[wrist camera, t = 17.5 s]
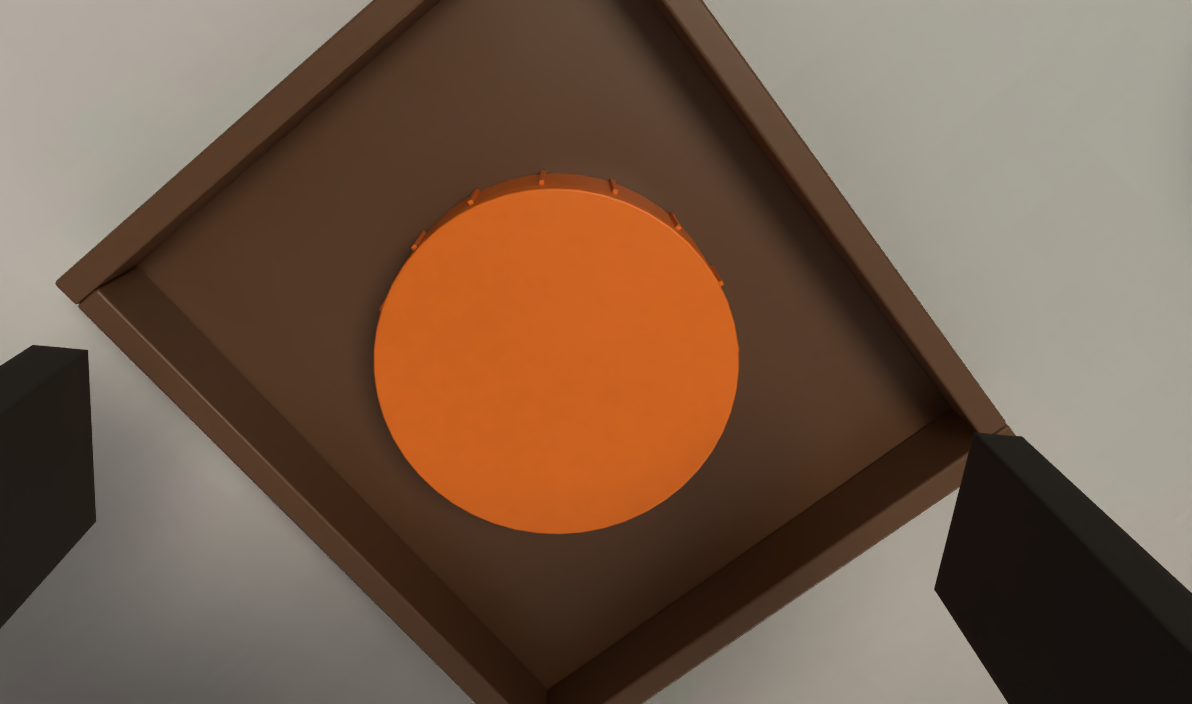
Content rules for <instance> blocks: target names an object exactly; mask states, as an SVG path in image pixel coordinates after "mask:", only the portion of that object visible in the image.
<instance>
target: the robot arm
mask: <svg viewBox="0 0 1192 704" xmlns="http://www.w3.org/2000/svg"><path fill="white" fill-rule="evenodd" d="M95 522H96V509H95V489H94V468H93V447H92V426H91V405H90V384H89V364H88V350H81V349H70V348H60V347H49V346H38V345H32V346H30V347H29V348H27V349H26V350H24V351H23V352H21V353H19V354H18V355H16V356H15V357H13V358H12V359H10V360H9V361H7V362H6V363H4V364H2V365H1V366H0V628H1V627H2V626H3V625H4V624H5V623H6V622H7V620H8V619H9V618H10V617H11V616H12V615H13V614H14V613H15V611H16V610H17V609H18V608H19V607H20V606H21V605H22V604H23V603H24V601H25V600H26V599H27V598H28V597H29V596H30V595H31V594H32V592H33V591H34V590H35V589H36V588H37V587H38V586H39V585H40V583H41V582H42V581H43V580H44V579H45V578H46V577H47V576H48V575H49V573H50V572H51V571H52V570H53V569H54V568H55V567H56V566H57V564H58V563H59V562H60V561H61V560H62V559H63V558H64V557H65V556H66V554H67V553H68V552H69V551H70V550H71V549H72V548H73V547H74V545H75V544H76V543H77V542H78V541H79V540H80V539H81V538H82V537H83V535H84V534H85V533H86V532H87V531H88V530H89V529H90V528H91V526H92V525H93V524H94V523H95ZM934 590H935V591H936V593H937V594H938V596H939V597H940V599H941V600H942V602H943V603H944V605H945V607H946V608H947V610H948V611H949V613H950V614H951V616H952V617H953V619H954V620H955V622H956V624H957V625H958V627H959V628H960V630H961V631H962V633H963V634H964V636H965V637H966V639H967V641H968V642H969V644H970V645H971V647H972V648H973V650H974V651H975V653H976V654H977V656H978V657H979V659H980V661H981V662H982V664H983V665H984V667H985V668H986V670H987V671H988V673H989V674H990V676H991V678H992V679H993V681H994V682H995V684H996V685H997V687H998V688H999V690H1000V691H1001V693H1002V694H1003V696H1004V698H1005V699H1006V701H1007V702H1008V704H1192V593H1191V592H1190V591H1189V590H1188V589H1187V588H1185V587H1184V586H1183V585H1182V584H1181V583H1180V582H1179V581H1178V580H1177V579H1176V578H1175V577H1174V576H1172V575H1171V574H1170V573H1169V572H1168V571H1167V570H1166V569H1165V568H1164V567H1163V566H1162V565H1161V564H1159V563H1158V562H1157V561H1156V560H1155V559H1154V558H1153V557H1152V556H1151V555H1150V554H1149V553H1148V552H1147V551H1145V550H1144V549H1143V548H1142V547H1141V546H1140V545H1139V544H1138V543H1137V542H1136V541H1135V540H1134V539H1132V538H1131V537H1130V536H1129V535H1128V534H1127V533H1126V532H1125V531H1124V530H1123V529H1122V528H1121V527H1119V526H1118V525H1117V524H1116V523H1115V522H1114V521H1113V520H1112V519H1111V518H1110V517H1109V516H1108V515H1106V514H1105V513H1104V512H1103V511H1102V510H1101V509H1100V508H1099V507H1098V506H1097V505H1096V504H1095V503H1093V502H1092V501H1091V500H1090V499H1089V498H1088V497H1087V496H1086V495H1085V494H1084V493H1083V492H1082V491H1080V490H1079V489H1078V488H1077V487H1076V486H1075V485H1074V484H1073V483H1072V482H1071V481H1070V480H1069V479H1067V478H1066V477H1065V476H1064V475H1063V474H1062V473H1061V472H1060V471H1059V470H1058V469H1057V468H1056V467H1054V466H1053V465H1052V464H1051V463H1050V462H1049V461H1048V460H1047V459H1046V458H1045V457H1044V456H1043V455H1041V454H1040V453H1039V452H1038V451H1037V450H1036V449H1035V448H1034V447H1033V446H1032V445H1031V444H1030V443H1028V442H1027V441H1026V440H1025V439H1024V438H1023V437H1021V436H1010V435H999V434H988V433H977V432H974V433H973V437H972V441H971V445H970V449H969V453H968V457H967V461H966V465H965V469H964V473H963V477H962V481H961V485H960V489H959V493H958V497H957V501H956V505H955V509H954V513H953V517H952V521H951V525H950V529H949V533H948V537H947V541H946V544H945V548H944V552H943V556H942V560H941V564H940V568H939V572H938V576H937V580H936V584H935V588H934Z"/></svg>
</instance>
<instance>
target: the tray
mask: <svg viewBox="0 0 1192 704" xmlns="http://www.w3.org/2000/svg"><path fill="white" fill-rule="evenodd" d="M541 170H546V174H550V173H561V174H578V175H584V176H589V177H594V178H599V179H603V180H606V181H609V182H610V179H611V178H612V179H615V180H616V184H618V185H621V186H624V187H626V188H628V189H630V190H632V191H634V192H636V193H638V194H640V195H642V196H644V197H645V198H647V199H648V200H650V201H651V202H653V203H654V204H656V205H657V206H659V207H660V208H662V209H663V210H664V211H665V212H667V213H668V214H670V213H671V212H672V213H674V214H675V216H676V218H677V220H678V221H679V223H680V225H681V226H682V228H683V229H684V230H685V231H686V232H687V233H688V234H689V236H690V237H691V238H692V239H693V240H694V242H695V243H696V245H697V246H698V248H699V250H700V251H701V253H702V254H703V256H704V257H705V259H706V260H707V262H708V264H709V266H710V265H713V266H714V268H715V269H716V271H717V273H718V274H719V276H720V278H721V279H722V281H723V283H724V285H723V286H721V288H722V290H723V292H724V294H725V296H726V298H727V301H728V304H729V307H730V310H731V313H732V316H733V319H734V323H735V328H736V334H737V340H738V346H739V373H738V382H737V391H736V395H735V399H734V403H733V407H732V411H731V414H730V416H729V419H728V421H727V424H726V426H725V429H724V431H723V433H722V435H721V437H720V439H719V440H718V442H717V444H716V446H715V448H714V449H713V451H712V453H711V454H710V455H709V457H708V458H707V459H706V461H705V462H704V463H703V465H702V466H701V467H700V469H699V470H698V471H697V472H696V473H695V474H694V475H693V476H692V477H691V478H690V479H689V480H688V481H687V482H686V483H685V484H684V485H683V486H682V487H681V488H680V489H679V490H677V491H676V492H675V493H674V494H672V495H671V496H670V497H669V498H667V499H666V500H665V501H663V502H661V503H660V504H658V505H657V506H655V507H653V508H652V509H650V510H649V511H647V512H645V513H643V514H641V515H638V516H636V517H634V518H632V519H630V520H627V521H625V522H622V523H619V524H616V525H613V526H609V527H606V528H602V529H597V530H592V531H587V532H581V533H567V534H547V533H534V532H527V531H521V530H515V529H512V528H508V527H505V526H501V525H498V524H494V523H491V522H489V521H487V520H484V519H482V518H479V517H477V516H475V515H472V514H471V513H469V512H467V511H465V510H464V509H462V508H460V507H458V506H457V505H455V504H453V503H452V502H450V501H449V500H448V499H446V498H445V497H444V496H442V495H441V494H440V493H438V492H437V491H436V490H434V489H433V488H432V487H431V486H430V485H429V484H428V483H427V482H426V481H425V480H424V479H423V478H422V477H421V476H420V475H419V474H418V473H417V472H416V471H415V469H414V468H413V467H412V466H411V464H410V463H409V462H408V461H407V459H406V458H405V457H404V455H403V454H402V452H401V451H400V449H399V447H398V446H397V444H396V442H395V441H394V439H393V438H392V435H391V433H390V431H389V429H388V426H387V424H386V422H385V419H384V417H383V414H382V411H381V407H380V404H379V400H378V397H377V391H376V385H375V378H374V343H375V336H376V328H377V324H378V320H379V317H380V313H381V311H379V309H380V306H381V305H382V303H383V302H384V300H385V299H386V297H387V294H388V292H389V290H390V287H391V285H392V283H393V281H394V280H395V278H396V277H397V275H398V273H399V272H400V270H401V268H402V267H403V265H404V264H405V262H406V261H407V259H408V258H409V256H410V255H411V253H412V252H413V249H411V247H412V246H413V244H414V243H415V241H416V240H417V238H418V237H419V236H420V234H421V233H422V232H423V231H425V232H428V231H429V230H430V228H431V227H432V226H433V225H434V224H435V223H436V222H437V221H438V220H439V219H441V218H442V217H443V216H444V215H445V214H446V213H447V212H448V211H449V210H451V209H452V208H454V207H455V206H456V205H458V204H459V203H461V202H462V201H464V200H465V199H466V198H468V197H470V196H471V194H472V192H473V191H474V190H475V189H477V188H478V189H479V191H482V190H484V189H486V188H487V187H490V186H493V185H496V184H499V183H501V182H504V181H507V180H510V179H515V178H520V177H524V176H529V175H537V174H540V172H541ZM55 284H56V285H57V287H58V288H59V289H60V290H61V291H62V292H64V293H65V294H66V295H67V296H68V297H69V298H70V299H71V300H72V301H73V302H74V303H75V304H79V303H80V304H79V306H78V307H79V308H80V309H81V310H82V311H83V312H84V313H85V314H86V315H87V316H88V317H89V318H90V319H91V320H92V321H93V322H94V323H95V324H96V325H97V326H98V327H99V328H100V329H101V330H102V331H103V332H104V333H105V334H106V335H107V336H108V337H109V338H110V339H111V340H112V341H113V342H114V343H115V344H116V345H117V346H118V347H119V348H120V349H121V350H122V351H123V352H124V353H125V354H126V355H127V356H128V357H129V358H130V359H131V360H132V361H133V362H134V363H135V364H136V365H137V366H138V367H139V368H140V369H141V370H142V371H143V372H144V373H145V374H146V375H147V376H148V377H149V378H150V379H151V380H152V381H153V382H154V383H155V384H156V385H157V386H158V387H159V388H160V389H161V390H162V391H163V392H164V393H165V394H166V395H167V396H168V397H169V398H170V399H171V400H172V401H173V402H174V403H175V404H176V405H177V406H178V407H179V408H180V409H181V410H182V411H183V412H184V413H185V414H186V415H187V416H188V417H189V418H190V419H191V420H192V421H193V422H194V423H195V424H196V425H197V426H198V427H199V428H200V429H201V430H202V431H203V432H204V433H205V434H206V435H207V436H208V437H209V438H210V439H211V440H212V441H213V442H214V443H215V444H216V445H217V446H218V447H219V448H220V449H221V450H222V451H223V452H224V453H225V454H226V455H227V456H228V457H229V458H230V459H231V460H232V461H233V462H234V463H235V464H236V465H237V466H238V467H239V468H240V469H241V470H242V471H243V472H244V473H245V474H246V475H247V476H248V477H249V478H250V479H251V480H252V481H253V482H254V483H255V484H256V485H257V486H258V487H259V488H260V489H261V490H262V491H263V492H264V493H265V494H266V495H267V496H268V497H269V498H270V499H271V500H272V501H273V502H274V503H275V504H276V505H277V506H278V507H279V508H280V509H281V510H282V511H283V512H284V513H285V514H286V515H287V516H288V517H289V518H290V519H291V520H292V521H293V522H294V523H295V524H296V525H297V526H298V527H299V528H300V529H302V530H303V531H304V532H305V533H306V534H307V535H308V536H309V537H310V538H311V539H312V540H313V541H314V542H315V543H316V544H317V545H318V546H319V547H320V548H321V549H322V550H323V551H324V552H325V553H326V554H327V555H328V556H329V557H330V558H331V559H332V560H333V561H334V562H335V563H336V564H337V565H338V566H339V567H340V568H341V569H342V570H343V571H344V572H345V573H346V574H347V575H348V576H349V577H350V578H351V579H352V580H353V581H354V582H355V583H356V584H357V585H358V586H359V587H360V588H361V589H362V590H363V591H364V592H365V593H366V594H367V595H368V596H369V597H370V598H371V599H372V600H373V601H374V602H375V603H376V604H377V605H378V606H379V607H380V608H381V609H382V610H383V611H384V612H385V613H386V614H387V615H388V616H389V617H390V618H391V619H392V620H393V621H394V622H395V623H396V624H397V625H398V626H399V627H400V628H401V629H402V630H403V631H404V632H405V633H406V634H407V635H408V636H409V637H410V638H411V639H412V640H413V641H414V642H415V643H416V644H417V645H418V646H419V647H420V648H421V649H422V650H423V651H424V652H425V653H426V654H427V655H428V656H429V657H430V658H431V659H432V660H433V661H434V662H435V663H436V664H437V665H438V666H439V667H440V668H441V669H442V670H443V671H444V672H445V673H446V674H447V675H448V676H449V677H450V678H451V679H452V680H453V681H454V682H455V683H456V684H457V685H458V686H459V687H460V688H461V689H462V690H463V691H464V692H465V693H466V694H467V695H468V696H469V697H470V698H471V699H472V700H473V701H474V702H475V703H476V704H642V703H644V702H645V701H647V700H648V699H649V698H651V697H652V696H654V695H655V694H657V693H658V692H660V691H661V690H663V689H664V688H666V687H667V686H669V685H670V684H671V683H673V682H674V681H676V680H677V679H679V678H680V677H682V676H683V675H685V674H686V673H688V672H689V671H691V670H692V669H693V668H695V667H696V666H698V665H699V664H701V663H702V662H704V661H705V660H707V659H708V658H710V657H711V656H712V655H714V654H715V653H717V652H718V651H720V650H721V649H723V648H724V647H726V646H727V645H729V644H730V643H732V642H733V641H734V640H736V639H737V638H739V637H740V636H742V635H743V634H745V633H746V632H748V631H749V630H751V629H752V628H754V627H755V626H756V625H758V624H759V623H761V622H762V621H764V620H765V619H767V618H768V617H770V616H771V615H773V614H774V613H776V612H777V611H778V610H780V609H781V608H783V607H784V606H786V605H787V604H789V603H790V602H792V601H793V600H795V599H796V598H798V597H799V596H800V595H802V594H803V593H805V592H806V591H808V590H809V589H811V588H812V587H814V586H815V585H817V584H818V583H820V582H821V581H822V580H824V579H825V578H827V577H828V576H830V575H831V574H833V573H834V572H836V571H837V570H839V569H840V568H841V567H843V566H844V565H846V564H847V563H849V562H850V561H852V560H853V559H855V558H856V557H858V556H859V555H861V554H862V553H863V552H865V551H866V550H868V549H869V548H871V547H872V546H874V545H875V544H877V543H878V542H880V541H881V540H883V539H884V538H885V537H887V536H888V535H890V534H891V533H893V532H894V531H896V530H897V529H899V528H900V527H902V526H903V525H905V524H906V523H907V522H909V521H910V520H912V519H913V518H915V517H916V516H918V515H919V514H921V513H922V512H924V511H925V510H927V509H928V508H929V507H931V506H932V505H934V504H935V503H937V502H938V501H940V500H941V499H943V498H944V497H946V496H947V495H949V494H950V493H951V492H953V491H954V490H956V489H957V488H959V487H960V485H961V481H962V477H963V473H964V469H965V465H966V461H967V457H968V453H969V449H970V445H971V441H972V437H973V433H974V432H977V433H988V434H999V435H1010V436H1016V435H1015V434H1014V433H1013V431H1012V430H1011V428H1010V427H1009V426H1008V425H1007V424H1006V422H1005V420H1004V419H1003V417H1002V416H1001V414H1000V413H999V412H998V410H997V409H996V408H995V406H994V405H993V403H992V402H991V401H990V399H989V398H988V396H987V395H986V394H985V392H984V391H983V389H982V388H981V387H980V385H979V384H978V383H977V381H976V380H975V378H974V377H973V376H972V374H971V373H970V371H969V370H968V369H967V367H966V366H965V364H964V363H963V362H962V360H961V359H960V358H959V356H958V355H957V353H956V352H955V351H954V349H953V348H952V346H951V345H950V344H949V342H948V341H947V339H946V338H945V337H944V335H943V334H942V333H941V331H940V330H939V328H938V327H937V326H936V324H935V323H934V321H933V320H932V319H931V317H930V316H929V314H928V313H927V312H926V310H925V309H924V308H923V306H922V305H921V303H920V302H919V301H918V299H917V298H916V296H915V295H914V294H913V292H912V291H911V289H910V288H909V287H908V285H907V284H906V283H905V281H904V280H903V278H902V277H901V276H900V274H899V273H898V271H897V270H896V269H895V267H894V266H893V264H892V263H891V262H890V260H889V259H888V258H887V256H886V255H885V253H884V252H883V251H882V249H881V248H880V246H879V245H878V244H877V242H876V241H875V239H874V238H873V237H872V235H871V234H870V233H869V231H868V230H867V228H866V227H865V226H864V224H863V223H862V221H861V220H860V219H859V217H858V216H857V214H856V213H855V212H854V210H853V209H852V208H851V206H850V205H849V203H848V202H847V201H846V199H845V198H844V196H843V195H842V194H841V192H840V191H839V189H838V188H837V187H836V185H835V184H834V183H833V181H832V180H831V178H830V177H829V176H828V174H827V173H826V171H825V170H824V169H823V167H822V166H821V164H820V163H819V162H818V160H817V159H816V158H815V156H814V155H813V153H812V152H811V151H810V149H809V148H808V146H807V145H806V144H805V142H804V141H803V139H802V138H801V137H800V135H799V134H798V133H797V131H796V130H795V128H794V127H793V126H792V124H791V123H790V121H789V120H788V119H787V117H786V116H785V114H784V113H783V112H782V110H781V109H780V108H779V106H778V105H777V103H776V102H775V101H774V99H773V98H772V96H771V95H770V94H769V92H768V91H767V89H766V88H765V87H764V85H763V84H762V83H761V81H760V80H759V78H758V77H757V76H756V74H755V73H754V71H753V70H752V69H751V67H750V66H749V64H748V63H747V62H746V60H745V59H744V58H743V56H742V55H741V53H740V52H739V51H738V49H737V48H736V46H735V45H734V44H733V42H732V41H731V39H730V38H729V37H728V35H727V34H726V33H725V31H724V30H723V28H722V27H721V26H720V24H719V23H718V21H717V20H716V19H715V17H714V16H713V14H712V13H711V12H710V10H709V9H708V8H707V6H706V5H705V3H704V2H703V1H702V0H373V1H372V2H371V3H369V4H368V5H367V6H366V7H365V8H364V9H363V10H362V11H360V12H359V13H358V14H357V15H356V16H355V17H354V18H353V19H351V20H350V21H349V22H348V23H347V24H346V25H345V26H344V27H342V28H341V29H340V30H339V31H338V32H337V33H336V34H334V35H333V36H332V37H331V38H330V39H329V40H328V41H327V42H325V43H324V44H323V45H322V46H321V47H320V48H319V49H318V50H316V51H315V52H314V53H313V54H312V55H311V56H310V57H309V58H307V59H306V60H305V61H304V62H303V63H302V64H301V65H299V66H298V67H297V68H296V69H295V70H294V71H293V72H292V73H290V74H289V75H288V76H287V77H286V78H285V79H284V80H283V81H281V82H280V83H279V84H278V85H277V86H276V87H275V88H274V89H272V90H271V91H270V92H269V93H268V94H267V95H266V96H264V97H263V98H262V99H261V100H260V101H259V102H258V103H257V104H255V105H254V106H253V107H252V108H251V109H250V110H249V111H248V112H246V113H245V114H244V115H243V116H242V117H241V118H240V119H239V120H237V121H236V122H235V123H234V124H233V125H232V126H231V127H229V128H228V129H227V130H226V131H225V132H224V133H223V134H222V135H220V136H219V137H218V138H217V139H216V140H215V141H214V142H213V143H211V144H210V145H209V146H208V147H207V148H206V149H205V150H204V151H202V152H201V153H200V154H199V155H198V156H197V157H196V158H194V159H193V160H192V161H191V162H190V163H189V164H188V165H187V166H185V167H184V168H183V169H182V170H181V171H180V172H179V173H178V174H176V175H175V176H174V177H173V178H172V179H171V180H170V181H169V182H167V183H166V184H165V185H164V186H163V187H162V188H161V189H159V190H158V191H157V192H156V193H155V194H154V195H153V196H152V197H150V198H149V199H148V200H147V201H146V202H145V203H144V204H143V205H141V206H140V207H139V208H138V209H137V210H136V211H135V212H134V213H132V214H131V215H130V216H129V217H128V218H127V219H126V220H124V221H123V222H122V223H121V224H120V225H119V226H118V227H117V228H115V229H114V230H113V231H112V232H111V233H110V234H109V235H108V236H106V237H105V238H104V239H103V240H102V241H101V242H100V243H99V244H97V245H96V246H95V247H94V248H93V249H92V250H91V251H89V252H88V253H87V254H86V255H85V256H84V257H83V258H82V259H80V260H79V261H78V262H77V263H76V264H75V265H74V266H73V267H71V268H70V269H69V270H68V271H67V272H66V273H65V274H64V275H62V276H61V277H60V278H59V279H58V280H57V281H56V283H55Z"/></svg>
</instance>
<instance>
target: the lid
mask: <svg viewBox="0 0 1192 704" xmlns="http://www.w3.org/2000/svg"><path fill="white" fill-rule="evenodd" d="M411 249H413V252H412V253H411V255H410V256H409V258H408V259H407V261H406V262H405V264H404V265H403V267H402V268H401V270H400V272H399V273H398V275H397V277H396V278H395V280H394V281H393V283H392V285H391V287H390V290H389V292H388V294H387V297H386V299H385V300H384V302H383V303H382V305H381V306H380V309H379V311H381V313H380V317H379V320H378V324H377V328H376V336H375V343H374V378H375V385H376V391H377V397H378V400H379V404H380V407H381V411H382V414H383V417H384V419H385V422H386V424H387V426H388V429H389V431H390V433H391V435H392V438H393V439H394V441H395V442H396V444H397V446H398V447H399V449H400V451H401V452H402V454H403V455H404V457H405V458H406V459H407V461H408V462H409V463H410V464H411V466H412V467H413V468H414V469H415V471H416V472H417V473H418V474H419V475H420V476H421V477H422V478H423V479H424V480H425V481H426V482H427V483H428V484H429V485H430V486H431V487H432V488H433V489H434V490H436V491H437V492H438V493H440V494H441V495H442V496H444V497H445V498H446V499H448V500H449V501H450V502H452V503H453V504H455V505H457V506H458V507H460V508H462V509H464V510H465V511H467V512H469V513H471V514H472V515H475V516H477V517H479V518H482V519H484V520H487V521H489V522H491V523H494V524H498V525H501V526H505V527H508V528H512V529H515V530H521V531H527V532H534V533H547V534H567V533H581V532H587V531H592V530H597V529H602V528H606V527H609V526H613V525H616V524H619V523H622V522H625V521H627V520H630V519H632V518H634V517H636V516H638V515H641V514H643V513H645V512H647V511H649V510H650V509H652V508H653V507H655V506H657V505H658V504H660V503H661V502H663V501H665V500H666V499H667V498H669V497H670V496H671V495H672V494H674V493H675V492H676V491H677V490H679V489H680V488H681V487H682V486H683V485H684V484H685V483H686V482H687V481H688V480H689V479H690V478H691V477H692V476H693V475H694V474H695V473H696V472H697V471H698V470H699V469H700V467H701V466H702V465H703V463H704V462H705V461H706V459H707V458H708V457H709V455H710V454H711V453H712V451H713V449H714V448H715V446H716V444H717V442H718V440H719V439H720V437H721V435H722V433H723V431H724V429H725V426H726V424H727V421H728V419H729V416H730V414H731V411H732V407H733V403H734V399H735V395H736V391H737V382H738V373H739V346H738V340H737V334H736V328H735V323H734V319H733V316H732V313H731V310H730V307H729V304H728V301H727V298H726V296H725V294H724V292H723V290H722V288H721V286H723V285H724V283H723V281H722V279H721V278H720V276H719V274H718V273H717V271H716V269H715V268H714V266H713V265H710V266H709V264H708V262H707V260H706V259H705V257H704V256H703V254H702V253H701V251H700V250H699V248H698V246H697V245H696V243H695V242H694V240H693V239H692V238H691V237H690V236H689V234H688V233H687V232H686V231H685V230H684V229H683V228H682V226H681V225H680V223H679V221H678V220H677V218H676V216H675V214H674V213H672V212H671V213H670V214H668V213H667V212H665V211H664V210H663V209H662V208H660V207H659V206H657V205H656V204H654V203H653V202H651V201H650V200H648V199H647V198H645V197H644V196H642V195H640V194H638V193H636V192H634V191H632V190H630V189H628V188H626V187H624V186H621V185H618V184H616V180H615V179H612V178H611V179H610V182H609V181H606V180H603V179H599V178H594V177H589V176H584V175H578V174H561V173H550V174H546V170H541V172H540V174H537V175H529V176H524V177H520V178H515V179H510V180H507V181H504V182H501V183H499V184H496V185H493V186H490V187H487V188H486V189H484V190H482V191H479V189H478V188H477V189H475V190H474V191H473V192H472V194H471V196H470V197H468V198H466V199H465V200H464V201H462V202H461V203H459V204H458V205H456V206H455V207H454V208H452V209H451V210H449V211H448V212H447V213H446V214H445V215H444V216H443V217H442V218H441V219H439V220H438V221H437V222H436V223H435V224H434V225H433V226H432V227H431V228H430V230H429V231H428V232H425V231H423V232H422V233H421V234H420V236H419V237H418V238H417V240H416V241H415V243H414V244H413V246H412V247H411Z"/></svg>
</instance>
